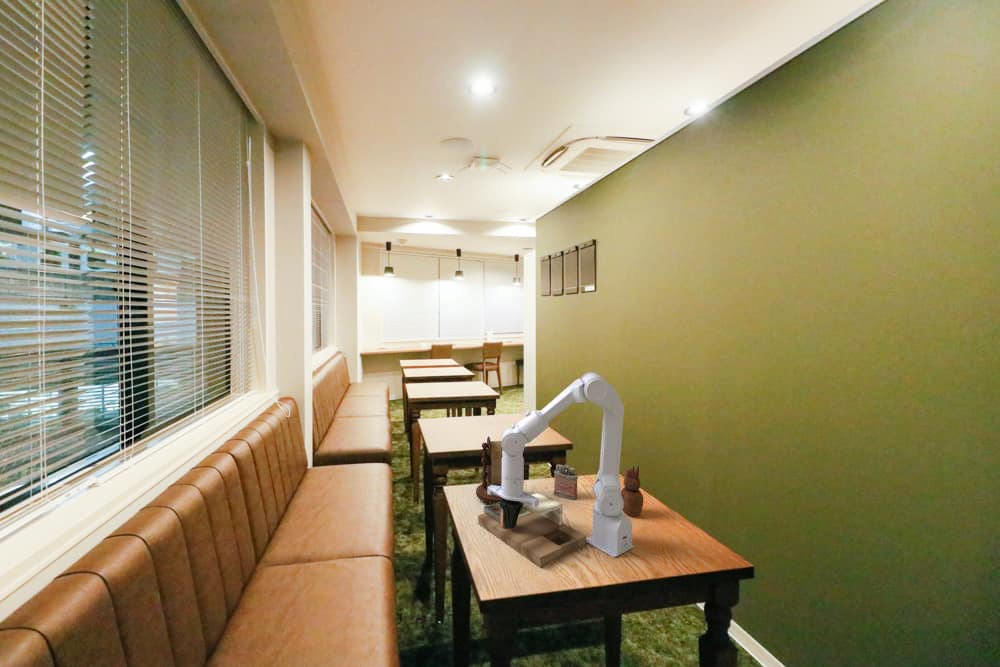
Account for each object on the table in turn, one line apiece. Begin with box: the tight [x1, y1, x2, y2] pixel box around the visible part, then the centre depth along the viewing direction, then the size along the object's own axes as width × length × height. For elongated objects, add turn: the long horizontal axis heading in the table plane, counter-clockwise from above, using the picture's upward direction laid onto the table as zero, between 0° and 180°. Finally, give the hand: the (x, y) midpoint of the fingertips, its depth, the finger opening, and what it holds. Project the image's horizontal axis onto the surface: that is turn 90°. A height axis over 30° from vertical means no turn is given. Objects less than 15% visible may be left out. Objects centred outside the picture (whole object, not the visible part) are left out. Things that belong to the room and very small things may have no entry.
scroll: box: [475, 435, 503, 506], centre depth 136 cm, size 15×15×20 cm
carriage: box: [483, 501, 526, 527], centre depth 119 cm, size 10×12×4 cm
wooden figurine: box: [621, 465, 644, 518], centre depth 126 cm, size 7×6×15 cm
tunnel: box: [477, 491, 587, 569], centre depth 114 cm, size 26×16×8 cm, turn 37°
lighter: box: [553, 463, 579, 501], centre depth 137 cm, size 8×3×10 cm, turn 58°
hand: (512, 526), depth 111 cm, fingers closed
